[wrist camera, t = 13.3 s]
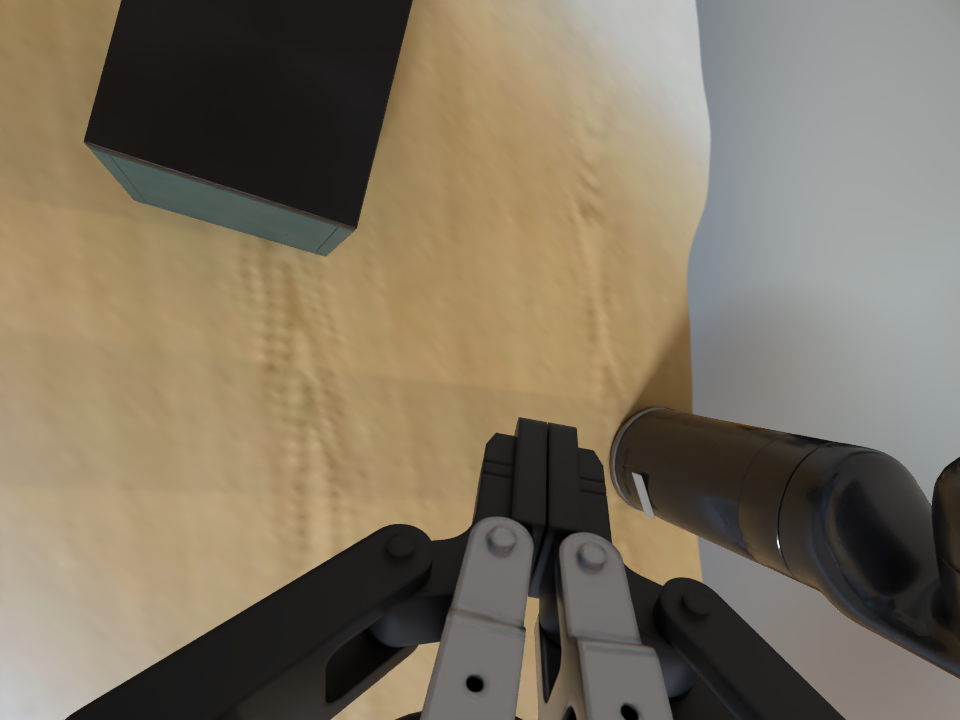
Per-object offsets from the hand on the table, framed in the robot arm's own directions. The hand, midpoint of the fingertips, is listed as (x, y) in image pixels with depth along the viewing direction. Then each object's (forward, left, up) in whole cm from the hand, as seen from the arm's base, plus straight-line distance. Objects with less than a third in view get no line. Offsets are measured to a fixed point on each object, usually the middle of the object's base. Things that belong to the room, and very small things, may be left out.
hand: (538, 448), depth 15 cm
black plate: (+4, -17, -18) cm, 25 cm away
